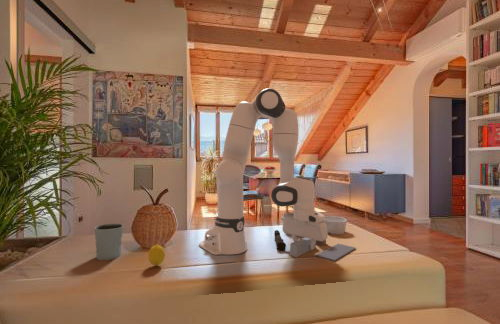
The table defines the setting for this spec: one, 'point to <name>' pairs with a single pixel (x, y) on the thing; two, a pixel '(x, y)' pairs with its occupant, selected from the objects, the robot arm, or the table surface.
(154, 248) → the lemon
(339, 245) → the tool mat
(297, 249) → the bar
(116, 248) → the blue-grey cup
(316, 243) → the walnut block
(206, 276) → the table surface
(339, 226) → the ramekin
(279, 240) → the hand tool
